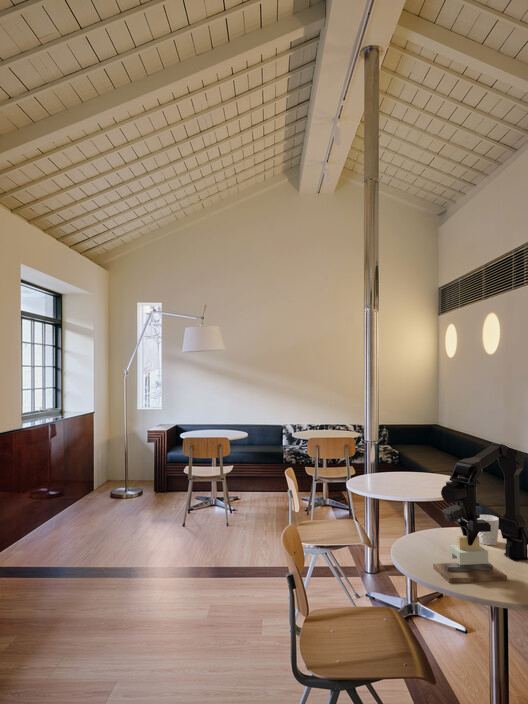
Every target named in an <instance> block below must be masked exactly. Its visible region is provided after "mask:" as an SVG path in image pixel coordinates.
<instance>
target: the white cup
mask: <svg viewBox="0 0 528 704" xmlns="http://www.w3.org/2000/svg"><path fill="white" fill-rule="evenodd" d="M479 515H480V518H476V520H480V519H483V520H485V521H486V522H488V523H489V524H490V525H491V531H490V532H479V533H478V536H479V544H480V543H481V544H483V545H485V544H486V546H496V544H497V545H498V543H499V541H498V537H499V525H500V518H499V517H497V516H496V515H491V514H479Z"/></svg>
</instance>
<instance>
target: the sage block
mask: <svg viewBox="0 0 528 704" xmlns="http://www.w3.org/2000/svg"><path fill="white" fill-rule="evenodd" d="M456 543H457V544H449V557H450V558H451V559H452V560H453V559H455V560H456V559H457V560H456V563H458V564H459V565H468V564H487V563H488V562H489V551H488V550H486V549H485V548H484V547H482V546H481V545H480V542H479V535H477V537H476V539H475V541H474V542H473V544H472V546H469V545H468V540H467V536H463V535H457V542H456Z"/></svg>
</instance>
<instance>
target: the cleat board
mask: <svg viewBox="0 0 528 704" xmlns="http://www.w3.org/2000/svg"><path fill="white" fill-rule="evenodd" d="M432 569H433V570H434V571H436V573H438V574H439V575H440V576H441V577H442V578H443V579H444V580H445V579H446V581H447V582H448V583H449V584H452V583H453V584H454V583H455V584H457V583H475V582H477V583H480V582H497V581H499V582H500V581H508V575H507V574H506V573H504V572H503V571H501V570H500V569H499V568H497V567H496V566H494V565H493V564H492V563H490V562H489V561H488V563H487V564H468V565H459V564H458V563H457V562H444V563H443V562H442V563H433V564H432Z"/></svg>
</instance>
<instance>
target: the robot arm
mask: <svg viewBox="0 0 528 704" xmlns="http://www.w3.org/2000/svg"><path fill="white" fill-rule="evenodd" d="M496 460H498V466H499V468H500V469H501V471H502V473H503V479H504V482H503V483H504V485H503V486H504V511H505V513H504V514H503V516H502V517H500V518H499V526H498V529H499V530H500V533H501V538H502V539H504V540H505V542H506V543H505V545H504V546H505V547H504V548H505V552H504V553H503V554H504V556H506V557H508V558H509V559H511V561H514V562H515V561H516V562H517V561H518V562H519V561H528V530H527V524H526V521H525V519H524V517H523V515H522V514H521V496H520V495H521V493H520V474H521V472H522V471H523V470H524V469H525V468H524V466H525V454H524V453H522V452H521V451H519V450H516V449H513V448H510V447H509V446H508V445H505V444H504V443H496V442H492V443H490V445H489V446H487V447H486V448H484V449H483V450H482V451H480V452H478V453H477V454H476V455H474V456H473V457H472V456H471V457H467V458H463V459H460V460H458V461H456V463H455V465H454V467H453V470H452V472H451V475H450V477H449V481H446V482H445V485H444V486H443V487H442V488H441V490H440V494H441V498H442V499H443V501H444V502H446V503H448V504H453V503H455V504H453V505H451V506H448V507H446V508H444V509H442V510H441V512H442V515H443V517H444V520H446V521H448V523H456V524H458V526H459V527H460V530H461V532H462V536H467V540H468V545H469V546H472V544H473V542H474V541H475V539H476V537H477V536H479V534H478V533H479V532H490V531H491V525H490V524H489V523H488V522H486V521H485V520H483V519H480V520H477V518H480V515H481V514H479V513H478V507H480V505H481V503H480V502H478V493H477V492H478V490H477V487H478V485H481V481H479V480H478V478H479V477H480V476H482V474H483V470H484V469H485V468H486V467H488V466H489V465H490V464H492V463H493V462H496Z"/></svg>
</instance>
